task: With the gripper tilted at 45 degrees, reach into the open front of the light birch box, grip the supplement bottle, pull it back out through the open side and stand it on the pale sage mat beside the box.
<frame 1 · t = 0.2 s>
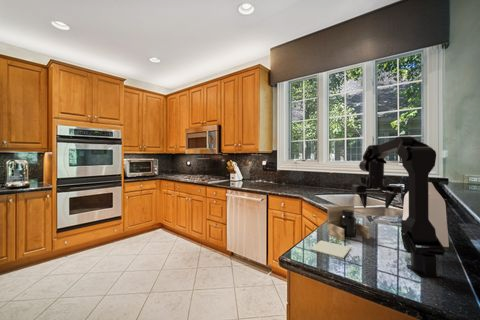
hand: (375, 207, 94), 14 cm above the countertop, tool pointing down, fingers open, 9 cm apart
mat: (330, 249, 84), on the countertop
milk: (423, 241, 93), on the countertop
supplement bottle: (348, 236, 99), resting in open box
open box: (348, 235, 99), on the countertop
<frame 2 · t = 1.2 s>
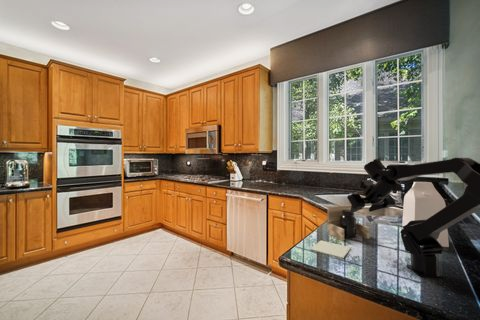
hand: (360, 211, 92), 13 cm above the countertop, tool tilted 45°, fingers open, 9 cm apart
nothing on the countertop moved.
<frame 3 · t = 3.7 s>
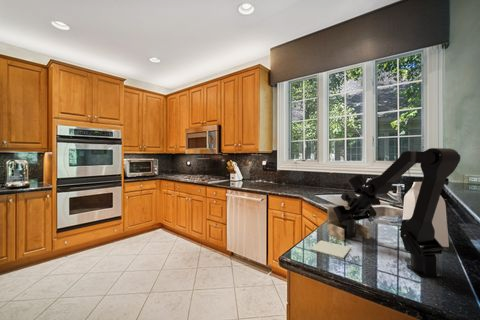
hand: (345, 221, 101), 7 cm above the countertop, tool tilted 45°, fingers closed on supplement bottle, 7 cm apart
supplement bottle: (348, 236, 99), resting in open box, touching gripper
everything else where it was.
when the fingers open (8 cm above the countertop, at t = 9.9 s): supplement bottle drops 1 cm, resting on mat.
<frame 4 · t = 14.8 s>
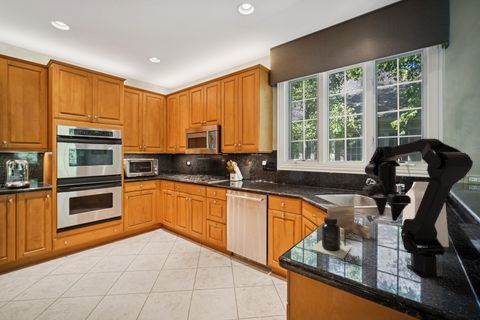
hand: (387, 217, 83), 13 cm above the countertop, tool pointing down, fingers open, 9 cm apart
supplement bottle: (330, 248, 84), resting on mat
everything else where it was.
at the end: supplement bottle inside the target area on the mat (0.1 cm from its centre), point 0.2 cm above the mat's base; supplement bottle tilted 0°; the gripper is holding nothing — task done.
